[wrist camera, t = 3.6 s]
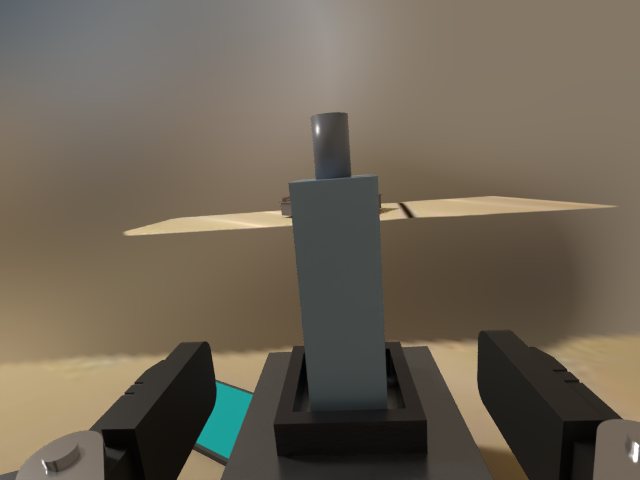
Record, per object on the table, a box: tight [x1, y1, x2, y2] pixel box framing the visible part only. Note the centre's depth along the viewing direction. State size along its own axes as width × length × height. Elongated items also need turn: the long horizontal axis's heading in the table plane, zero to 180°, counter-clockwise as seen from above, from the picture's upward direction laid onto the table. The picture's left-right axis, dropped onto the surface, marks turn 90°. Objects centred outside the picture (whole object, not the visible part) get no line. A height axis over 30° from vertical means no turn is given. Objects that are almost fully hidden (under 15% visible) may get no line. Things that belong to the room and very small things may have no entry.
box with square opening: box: [221, 342, 493, 480], centre depth 20 cm, size 12×12×10 cm
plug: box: [289, 112, 388, 411], centre depth 18 cm, size 4×4×16 cm
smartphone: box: [193, 380, 254, 466], centre depth 32 cm, size 7×1×15 cm
